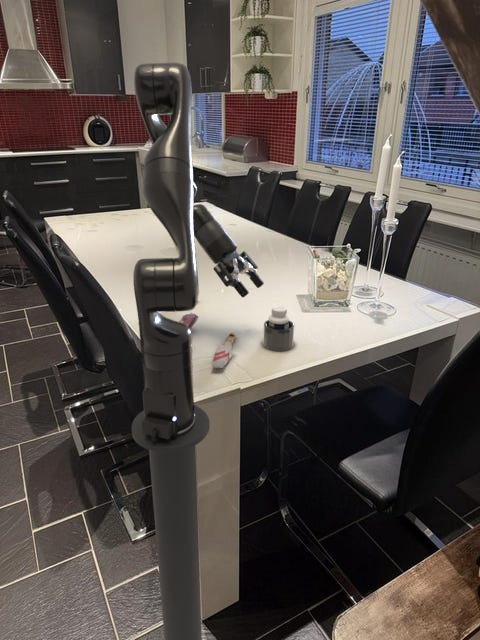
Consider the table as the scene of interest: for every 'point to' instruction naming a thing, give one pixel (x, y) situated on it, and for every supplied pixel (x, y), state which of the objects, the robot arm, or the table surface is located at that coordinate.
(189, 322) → the video game controller
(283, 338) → the holder
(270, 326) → the pill bottle
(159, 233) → the table surface
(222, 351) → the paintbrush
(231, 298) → the table surface
